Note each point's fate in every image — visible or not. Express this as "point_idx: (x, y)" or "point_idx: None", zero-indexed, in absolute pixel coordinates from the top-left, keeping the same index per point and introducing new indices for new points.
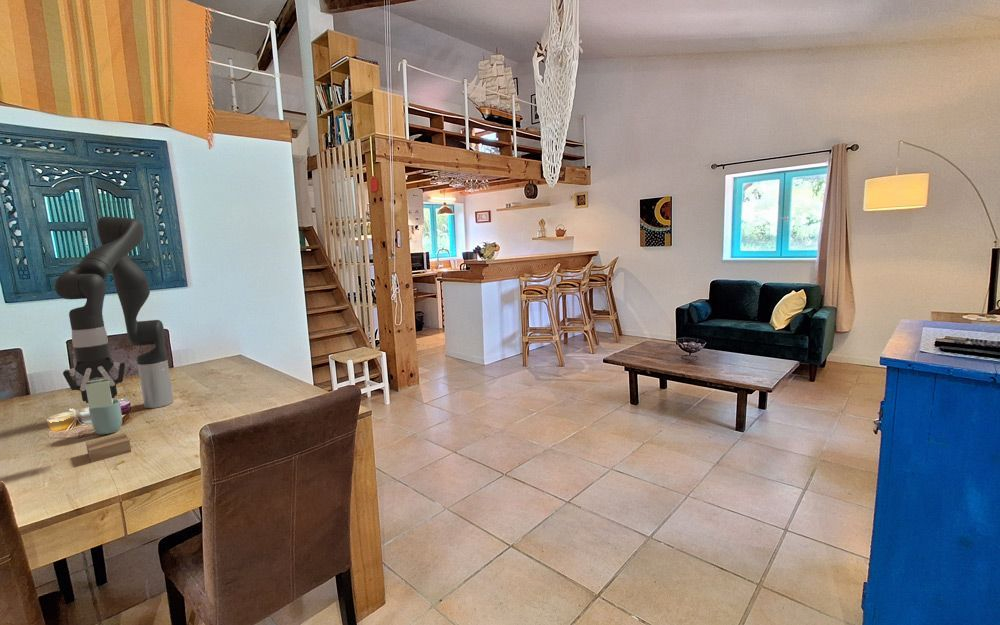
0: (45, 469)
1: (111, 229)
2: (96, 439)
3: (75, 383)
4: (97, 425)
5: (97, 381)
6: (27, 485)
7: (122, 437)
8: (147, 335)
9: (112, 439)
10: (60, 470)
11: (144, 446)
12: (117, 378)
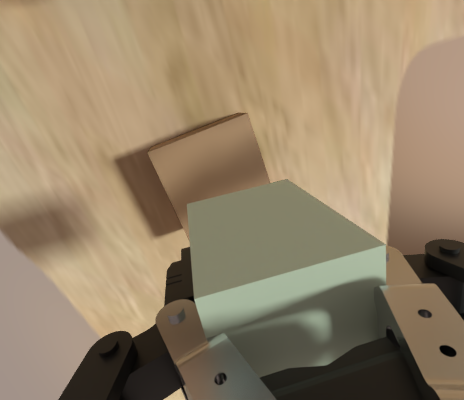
0: (81, 218)
1: None
2: (174, 142)
3: (117, 390)
4: None
5: (302, 343)
6: (92, 299)
7: (253, 168)
8: None
9: (227, 171)
10: (128, 242)
11: (291, 169)
12: (442, 281)
